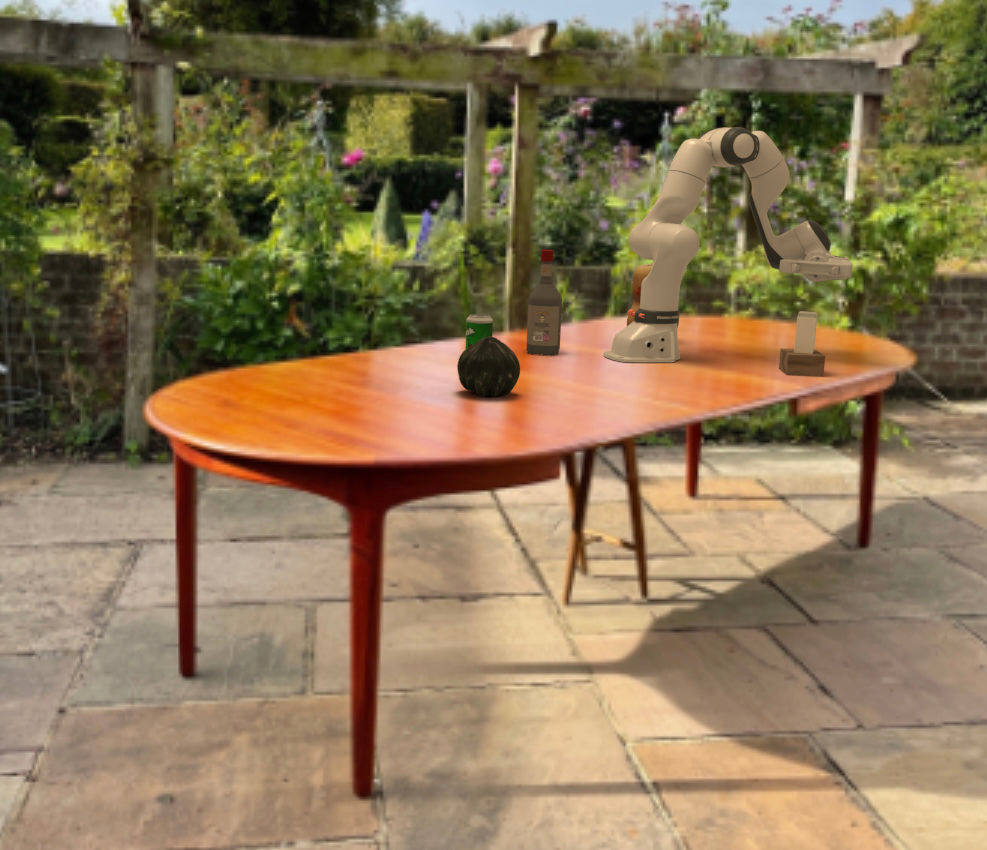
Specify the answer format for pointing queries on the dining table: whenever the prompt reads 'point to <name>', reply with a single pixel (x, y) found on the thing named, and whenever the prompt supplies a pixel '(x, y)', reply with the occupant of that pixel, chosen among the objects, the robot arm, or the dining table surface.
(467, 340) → the soda can
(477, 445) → the dining table surface
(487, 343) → the squash
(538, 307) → the liquor
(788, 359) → the walnut block
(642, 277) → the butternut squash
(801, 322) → the tall cream box
